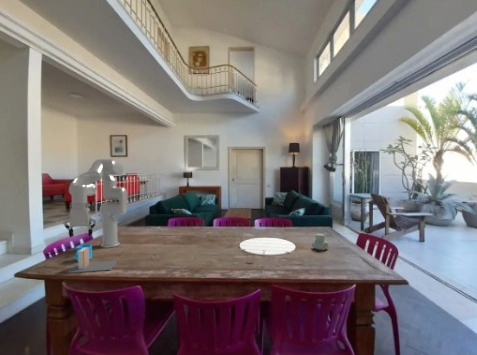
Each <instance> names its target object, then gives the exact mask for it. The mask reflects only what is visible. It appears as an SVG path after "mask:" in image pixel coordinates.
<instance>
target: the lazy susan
mask: <svg viewBox="0 0 477 355" xmlns="http://www.w3.org/2000/svg"><path fill="white" fill-rule="evenodd" d="M239 249H240V251H243V252H245V253H248V254H252V255H256V256H265V257H266V256H272V257H275V256H283V255H287V254H291V253H293V252H294V251H295V250H296V245H295V243H293V242H292V241H290V240H285V239H282V238H276V237H254V238H249V239H246V240H243V241H242V242H240V244H239Z"/></svg>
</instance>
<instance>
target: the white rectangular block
mask: <svg viewBox="0 0 477 355" xmlns="http://www.w3.org/2000/svg"><path fill="white" fill-rule="evenodd" d="M89 262H90V260H89V247H86V248H82V249H81V250H79V251H78V261H77V263H79V269H85V268H86V267H87V266H88V265H89Z"/></svg>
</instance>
